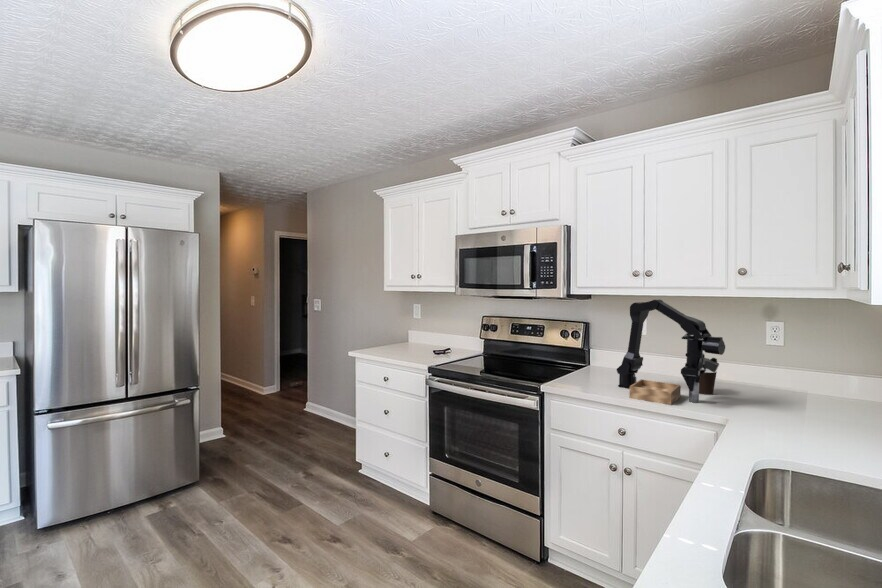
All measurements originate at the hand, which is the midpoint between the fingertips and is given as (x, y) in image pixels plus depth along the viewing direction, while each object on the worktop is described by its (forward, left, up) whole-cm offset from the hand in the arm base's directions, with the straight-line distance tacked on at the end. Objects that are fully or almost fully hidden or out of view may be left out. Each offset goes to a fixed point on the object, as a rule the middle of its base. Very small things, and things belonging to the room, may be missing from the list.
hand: (693, 388), depth 183 cm
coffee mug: (+1, +20, -6) cm, 21 cm away
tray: (-14, -3, -5) cm, 15 cm away
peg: (0, 0, -5) cm, 5 cm away
